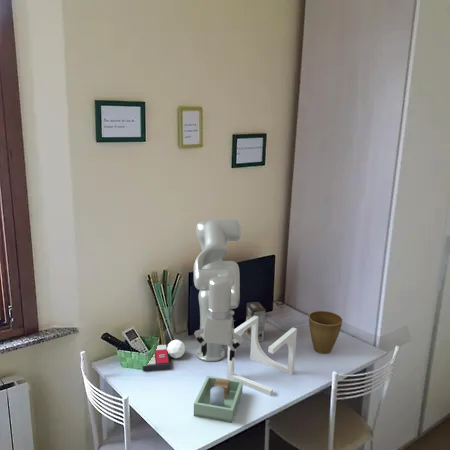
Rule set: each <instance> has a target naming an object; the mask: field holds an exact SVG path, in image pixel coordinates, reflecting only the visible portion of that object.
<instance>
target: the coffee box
mask: <svg viewBox="0 0 450 450" xmlns="http://www.w3.org/2000/svg"><path fill="white" fill-rule="evenodd" d="M266 311H267V310H266V309H265V307H264V306H263V305H262V304H261V303H260V302H259V301H254V302H253V301H251V302H247V303H246V309H245V312H246V313H245V322H246V321H247V320H249V319H250V318H252V317H253V316H254V315H255V316H258V317H259V319H258V341H259V342H263V341H264V340H265V339H264V338H265V326H266V325H265V324H266ZM251 330H252V326H251V327H249V328H248V329H247V330H246V331H245V332H244V333H245V335H246V336H247V338H248V340H250V342H251Z"/></svg>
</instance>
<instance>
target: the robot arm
mask: <svg viewBox="0 0 450 450" xmlns="http://www.w3.org/2000/svg"><path fill="white" fill-rule="evenodd" d="M195 233H196V237H197V240H198V243H199V245H200V249H201V251H200V253H199V254H198V255H197V256H196V257H195V258H196V259H195V261H194V263H193V283H194V284H193V285H194V287H195V288H196V289H197V290H198V291H199V292H198V304H199V317H200V318H199V322H200V323H199V324H200V325H199V329H197V330H195V331H194V333H193V335H194V336H195V338H196V340H197V342H198V343H199V347H198V348H197V349H196V351H195V354H196V357H197V358H198V359H199V360H201V361H203V362H213V363H214V362H219V361H221V360H222V359H223V358H225V356H226V351H225V349H224V348H222V346H227V347H228V346H229V347H230V358H229V360H230V361H232V358H234V357H235V355H236V352H235V349H236V350H237V349H238V348H239V347H240V346H241V344H242V343H243V341H244V338H243V336H239V335H238V334H236V333H234V329H235V324H234V317H233V316H234V315H235V311H234V310H233V309H237V308H239V305H240V300H241V299H240V298H241V294H240V292H241V291H240V287H241V285H240V284H241V283H240V279H241V278H240V276H241V275H240V267H239V264H238V263H237V262H235V261H234V260H223V259H224V258H225V257H226V255H227V254H228V251H229V250H228V243H227V242H238V241H239V240H240V239H241V237H242V227H241V223H240V222H239V221H238V220H237V219H223V218H222V219H217V218H216V219H209V220H202V221H199V222H198V223H196V227H195ZM234 338H235V339H236V340H238V342H236V343H234V341H233V340H232V339H234ZM234 359H235V358H234Z"/></svg>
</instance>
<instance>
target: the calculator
mask: <svg viewBox="0 0 450 450" xmlns="http://www.w3.org/2000/svg"><path fill="white" fill-rule="evenodd" d="M167 347H168V344H158V346H157V349H156V353H155V354H154V355H153V357H152V358H151V360H150V361H149V363H148V364H147V366H143V365H142V371H143V370H144V371H147V372H156V371H169V370H170V369H171V363H170V355H169V354H168V351H167Z"/></svg>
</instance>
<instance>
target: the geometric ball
mask: <svg viewBox="0 0 450 450" xmlns="http://www.w3.org/2000/svg"><path fill="white" fill-rule="evenodd" d="M185 350H186V347H185V343H184V342H183V341H181V340H180V339H174V340H171V341H170V342H169V343H168V344H167V351H168V355H169V357H171V358H174V359H178V358H181V357H182V356H183V355H184V354H185V352H186V351H185Z"/></svg>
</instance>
